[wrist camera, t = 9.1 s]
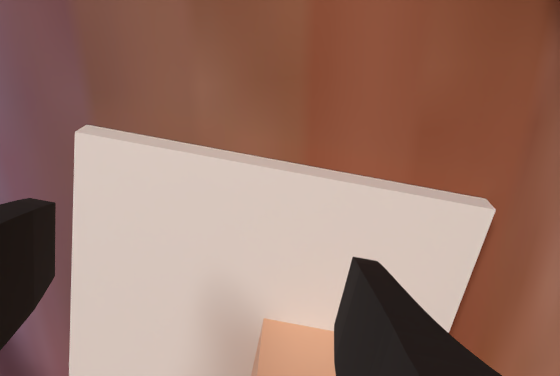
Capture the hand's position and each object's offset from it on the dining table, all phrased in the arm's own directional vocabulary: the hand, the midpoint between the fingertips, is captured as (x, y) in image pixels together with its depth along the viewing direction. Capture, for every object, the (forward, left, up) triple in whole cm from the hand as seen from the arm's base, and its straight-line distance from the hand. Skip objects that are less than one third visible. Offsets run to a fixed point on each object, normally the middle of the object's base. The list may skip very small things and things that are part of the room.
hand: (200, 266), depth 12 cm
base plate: (+2, -9, -10) cm, 14 cm away
